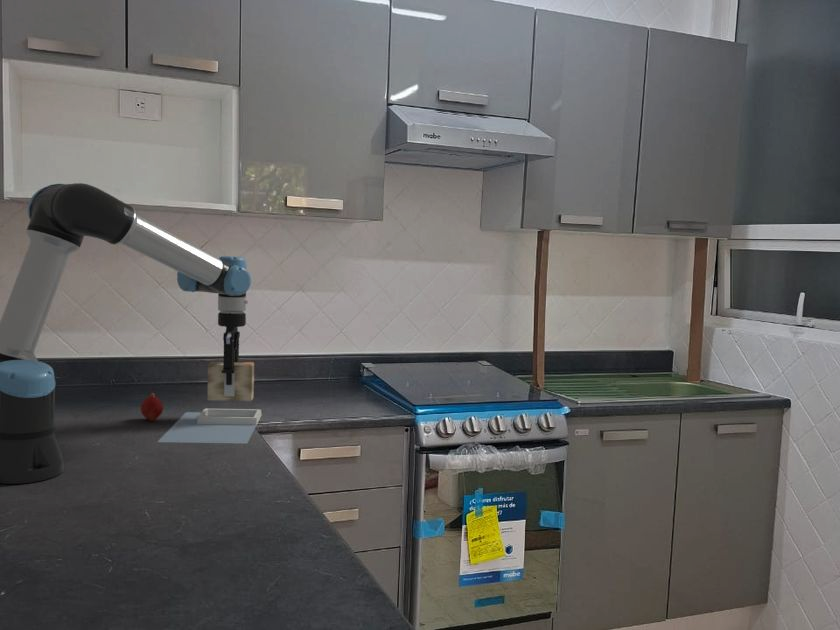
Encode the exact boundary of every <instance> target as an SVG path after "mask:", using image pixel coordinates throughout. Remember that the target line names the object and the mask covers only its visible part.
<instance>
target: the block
mask: <svg viewBox="0 0 840 630" xmlns="http://www.w3.org/2000/svg"><path fill="white" fill-rule="evenodd" d="M223 363H224V361H211V362H209V363H208V364H207V401H220V402H221V401H224V402H226V401H230V402H231V401H232V402H234V401H235V402H237V401H238V402H252V401H253V399H254V395H255V393H254V391H255V390H254V389H255V387H254V386H255V385H254V384H255V362H253V361H244V362H240V361H239V362H234V373H235V391H234V396H224V373H222V371H223Z"/></svg>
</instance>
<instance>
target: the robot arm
mask: <svg viewBox="0 0 840 630" xmlns="http://www.w3.org/2000/svg"><path fill="white" fill-rule="evenodd" d="M27 215H28V217H29V218H28V219H29V223H28V225H27V228H26V231H25V233H26V235H27V236H28V238H29V240H30V241H29V244H28V247H27V250H26V252H25V254H24V255H25V256H24V257H23V260H22V263H21V265H20V268H19V271H18V274H17V275H16V276H17V277H16V279H15V281H14V284H13V287H12V289H11V292H10V294H9V297H8V300H7V302H6V305H5V307H4V310H3V313H2V316H1V318H0V484H1V485H17V484H18V485H19V484H28V483H36V482H42V481H45V480H50V479H53V478H54V477H57V476H59V475H61V474H62V473H63V472H64V468H65V467H64V464H65V463H64V458H63V454H62V452H61V448H60V446H59V444H58V441H57V439H56V435H55V434H56V433H55V419H56V418H55V417H56V415H55V410H56V409H55V407H56V404H55V403H56V402H55V399H56V396H55V394H56V380H55V372H54V369H53V367H52V366H50V365H49V364H48V363H45V362H43V361H39V360H38V359H37V356H36V355H35V351H36V348H37V345H38V342H39V340H40V337H41V334H42V331H43V329H44V326H45V323H46V320H47V317H48V315H49V312H50V310H51V307H52V304H53V300H55V299H54V298H55V296H56V294H57V290H58V289H59V285H60V282H61V280H62V278H63V277H62V276H63V273H64V272H65V268H66V266H67V263H68V260H69V258H70V255H71V254H72V253H75V252H77V251H79V250H80V249H81V245H82V243H83V241H84V239H85V238H84V237H91V238H96V239H97V240H102V241H104V242H107V243H109V244H111V245H113V246H114V245H119V244H121V245H123V246H126V248H128V249H131V250H134V251H135V252H138V254H140V255H141V254H142V255H143V256H145V257H148V258H149V259H151V260H154V261H156V262H158V263H160V264H162V265H164V266H166V267H168V268H170V269H172V270H174V271H177V273H176V274H177V277H176V278H177V279H176V280H177V284H178V287H179V289H180V290H182V291H183V292H190V293H197V292H199V293H200V292H203V293H210V294H218V296H217V297H218V298H217V301H218V302H217V310H218V311H219V312H218V313H217V325H218V326H219V327H225V332H223V338H222V340H223V362H224V363H223V371H222V373H224V396H234V391H235V373H234V362H239V363H240V355H239V354H240V336H241V334H240V333H241V332H240V331H238V330H239V329H238V328H241V327H245V326H246V324H247V323H246V322H247V321H246V319H247V317H246V315H247V314H246V313H245V311H246V309H247V308H246V307H247V306H246V305H247V304H249V301H248V300H247V298H246V297H247V292H248V291H249V290H250V287H251V283H252V277H251V274H250V272H249V270H248V268H247V260H246V258H245V257H242V256H228V255H227V256H226V255H225V256H222V255H221V256H219V257H217V256H215V255H213V254H211V253H209V252H207V251H205V250H204V249H202V248H199V246H196V245H194V244H192V243H191V242H189V241H187V240H186V239H183V238H182V237H179V236H178V235H176V234H174V233H172V232H170V231H168V230H166V229H165V228H163V227H161V226H159V225H157V224H155V223H154V222H152V221H150V220H148V219H145V218H144V217H142V216H140V215H138V214H137V212H136V209H135V208H134V207H133V206H131V205H130V204H127V203H125V202H124V201H123V200H120V199H118V198H117V197H116V196H113V195H111V194H110V193H108V192H106V191H104V190H103V189H100V188H98V187H95V186H93V185H91V184H88V183H82V182H79V183H75V182H74V183H54V184H49V185H47V186H44V187H42V188H39V190H37V191H36V192H34V194H33V195H32V196H31V198H30V200H29V202H28V208H27Z"/></svg>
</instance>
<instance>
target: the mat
mask: <svg viewBox="0 0 840 630" xmlns="http://www.w3.org/2000/svg"><path fill="white" fill-rule="evenodd" d="M201 412H202V411H201ZM201 412H199V411H198V412H194V411H193V412H190V411H186V412H185V413H183V414H182V416H181V417H180V418H179V419H178V420H177V421H176V422H175V423H174V424H173V425H172V426H171V427H170V428H169V429H168V430H167V431H166V432H165V433H164V434H163V435H162V436H161V437H160V438H159V440H158V441H157V443H167V444H168V443H173V444H174V443H176V444H177V443H180V444H181V443H182V444H183V443H184V444H185V443H187V444H241V445H242V444H248V442H249V441H250V439H251V437H252V435H253V433H254V431H255V429H256V427H257V425H216V424H197V417H198V416H199V415H200V413H201ZM262 416H263V413H261V417H260V419H261V418H262ZM215 417H229V416H215Z"/></svg>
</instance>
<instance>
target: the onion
mask: <svg viewBox="0 0 840 630" xmlns="http://www.w3.org/2000/svg"><path fill="white" fill-rule="evenodd" d="M163 410H164V405H163V403H162V400H161V399H160V398H158V397H157V396H155V393H154V392H153V393H152V392H151V394H150V395H148V397H146V398H145V399H144V400H143V402H142V403H141V406H140V411H141V415H142V416H143V417H144V418H145V419H147V420H148V421H150V422H155V421H156V420H157V419H158V418H159V417H160V416H161V414H162V413H163Z"/></svg>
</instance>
